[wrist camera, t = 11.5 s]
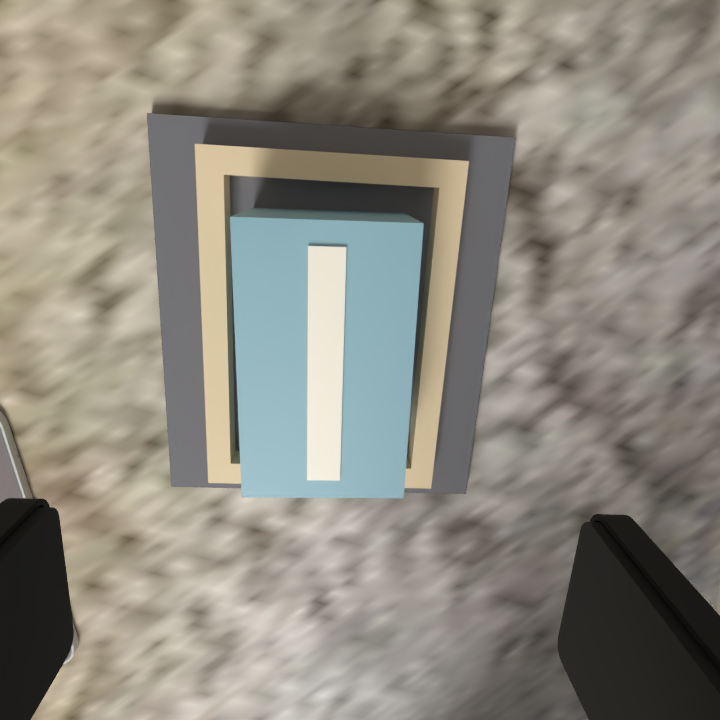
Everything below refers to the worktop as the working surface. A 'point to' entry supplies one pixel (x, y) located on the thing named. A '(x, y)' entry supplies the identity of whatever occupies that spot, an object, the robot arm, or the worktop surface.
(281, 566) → the worktop surface
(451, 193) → the mat
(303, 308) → the card box
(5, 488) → the smartphone
